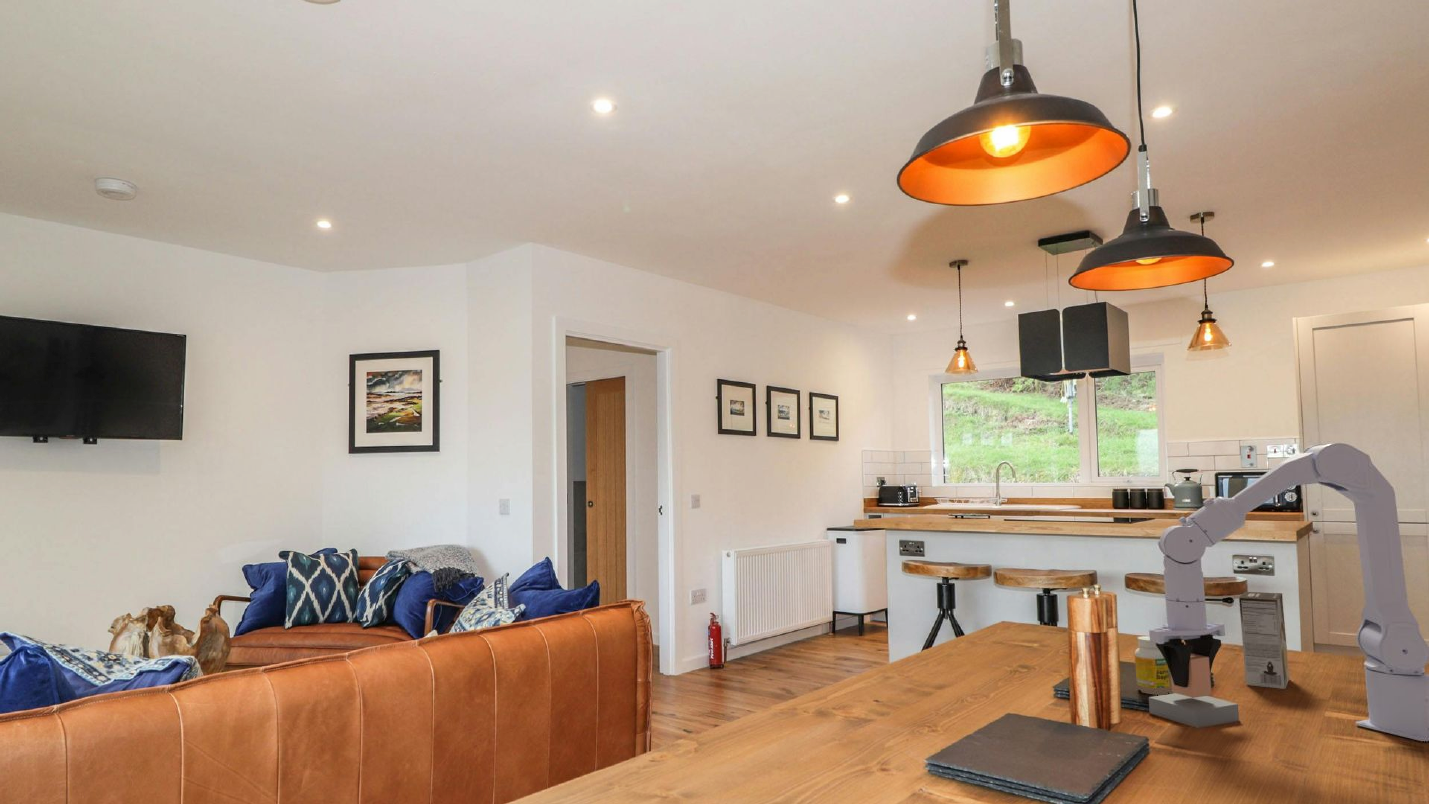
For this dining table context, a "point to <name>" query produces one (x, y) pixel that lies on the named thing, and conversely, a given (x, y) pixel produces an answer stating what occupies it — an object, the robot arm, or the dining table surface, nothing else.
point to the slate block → (1194, 709)
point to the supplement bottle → (1150, 665)
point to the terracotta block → (1196, 678)
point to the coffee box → (1264, 639)
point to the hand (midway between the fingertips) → (1191, 684)
